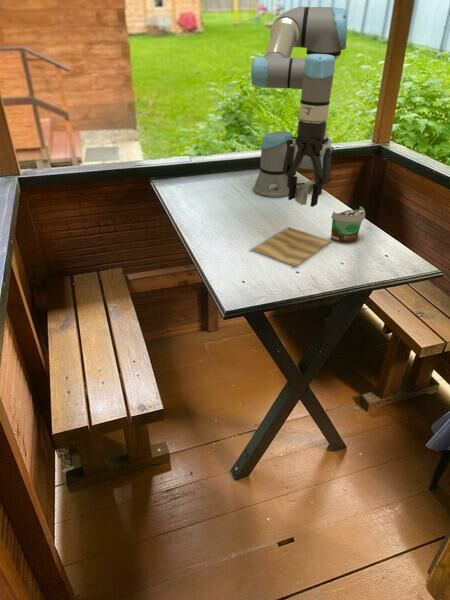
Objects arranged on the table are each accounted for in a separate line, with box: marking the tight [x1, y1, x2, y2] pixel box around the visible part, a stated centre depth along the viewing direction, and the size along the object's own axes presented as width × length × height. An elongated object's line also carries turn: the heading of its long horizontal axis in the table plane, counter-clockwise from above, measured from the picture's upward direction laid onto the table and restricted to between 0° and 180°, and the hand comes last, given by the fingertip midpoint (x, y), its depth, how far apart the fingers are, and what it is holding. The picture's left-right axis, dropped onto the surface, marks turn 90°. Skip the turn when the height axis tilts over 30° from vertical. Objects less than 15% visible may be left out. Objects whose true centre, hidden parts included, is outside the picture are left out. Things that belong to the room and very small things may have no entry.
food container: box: [330, 206, 366, 244], centre depth 145 cm, size 12×6×10 cm, turn 118°
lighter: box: [294, 179, 316, 206], centre depth 130 cm, size 7×2×8 cm, turn 23°
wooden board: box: [251, 227, 331, 268], centre depth 143 cm, size 22×16×1 cm
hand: (302, 201), depth 131 cm, fingers closed on lighter, 7 cm apart
